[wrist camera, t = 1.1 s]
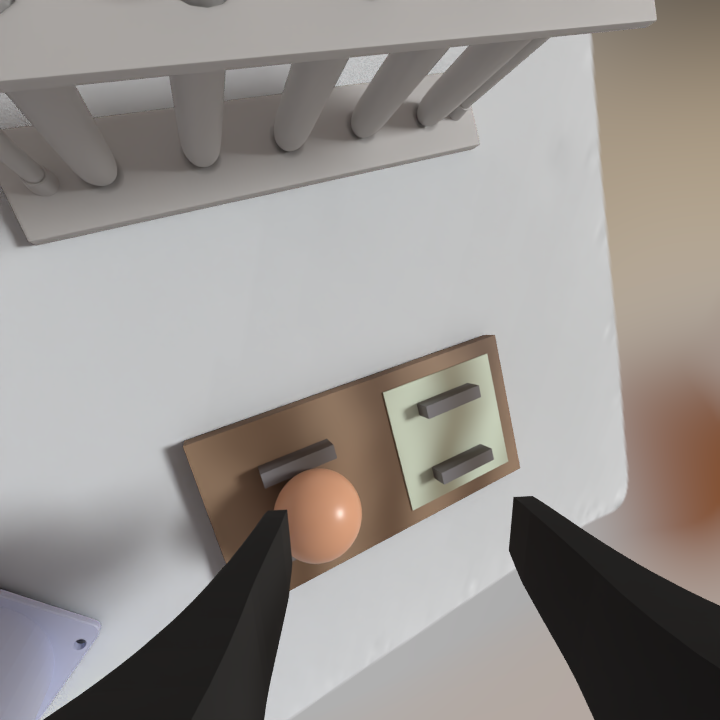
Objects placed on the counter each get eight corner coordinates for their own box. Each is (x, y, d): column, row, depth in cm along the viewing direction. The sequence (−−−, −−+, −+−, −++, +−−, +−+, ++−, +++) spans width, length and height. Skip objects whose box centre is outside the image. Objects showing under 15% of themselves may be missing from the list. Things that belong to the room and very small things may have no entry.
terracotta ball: (316, 546, 21) (341, 598, 17) (250, 514, 19) (261, 562, 15) (358, 479, 22) (393, 513, 18) (298, 442, 20) (320, 471, 16)
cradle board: (243, 602, 21) (246, 631, 19) (184, 440, 19) (180, 454, 17) (509, 463, 28) (533, 474, 26) (484, 334, 26) (508, 335, 24)
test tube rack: (36, 246, 16) (-473, 1, 4) (-15, 142, 15) (-853, -560, 3) (472, 149, 25) (732, -29, 12) (455, 77, 24) (718, -191, 11)
